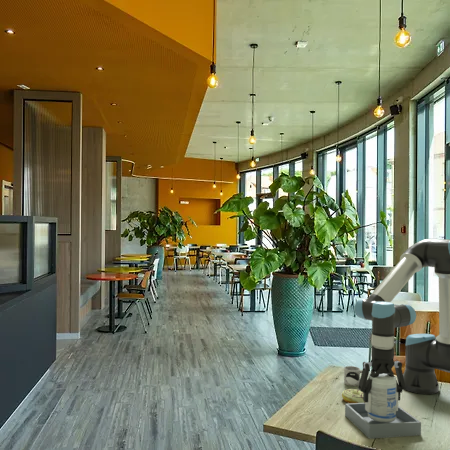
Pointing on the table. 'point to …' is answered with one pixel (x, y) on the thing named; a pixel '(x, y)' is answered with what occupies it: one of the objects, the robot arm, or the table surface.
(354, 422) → the bin
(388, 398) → the supplement tub
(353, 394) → the decorated donut
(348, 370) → the mug
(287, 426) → the table surface
